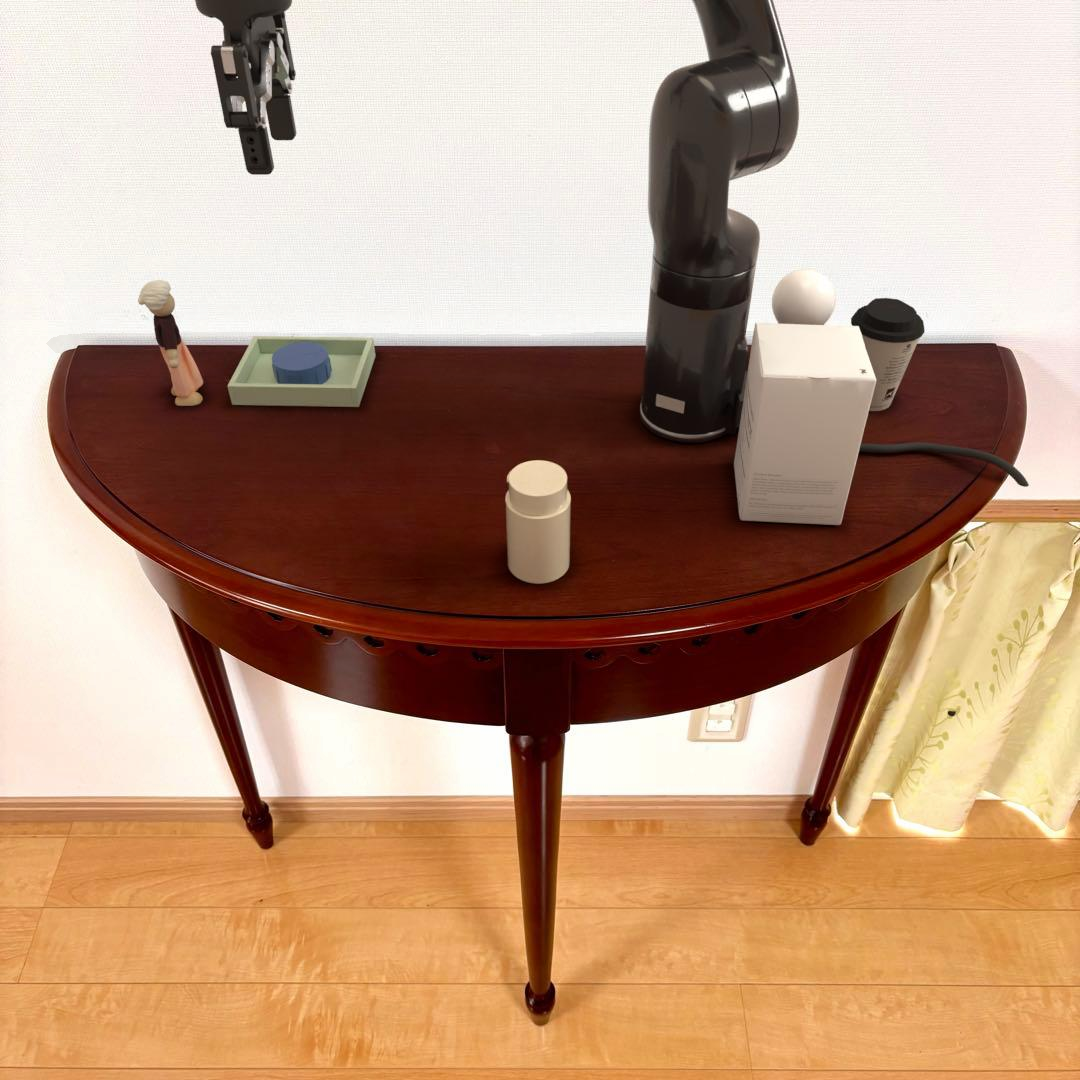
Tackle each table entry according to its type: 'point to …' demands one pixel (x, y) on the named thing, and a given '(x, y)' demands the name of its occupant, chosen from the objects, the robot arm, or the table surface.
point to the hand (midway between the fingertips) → (273, 155)
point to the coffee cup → (888, 343)
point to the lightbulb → (803, 298)
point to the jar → (538, 521)
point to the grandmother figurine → (172, 343)
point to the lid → (301, 364)
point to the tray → (340, 390)
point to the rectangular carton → (801, 422)
